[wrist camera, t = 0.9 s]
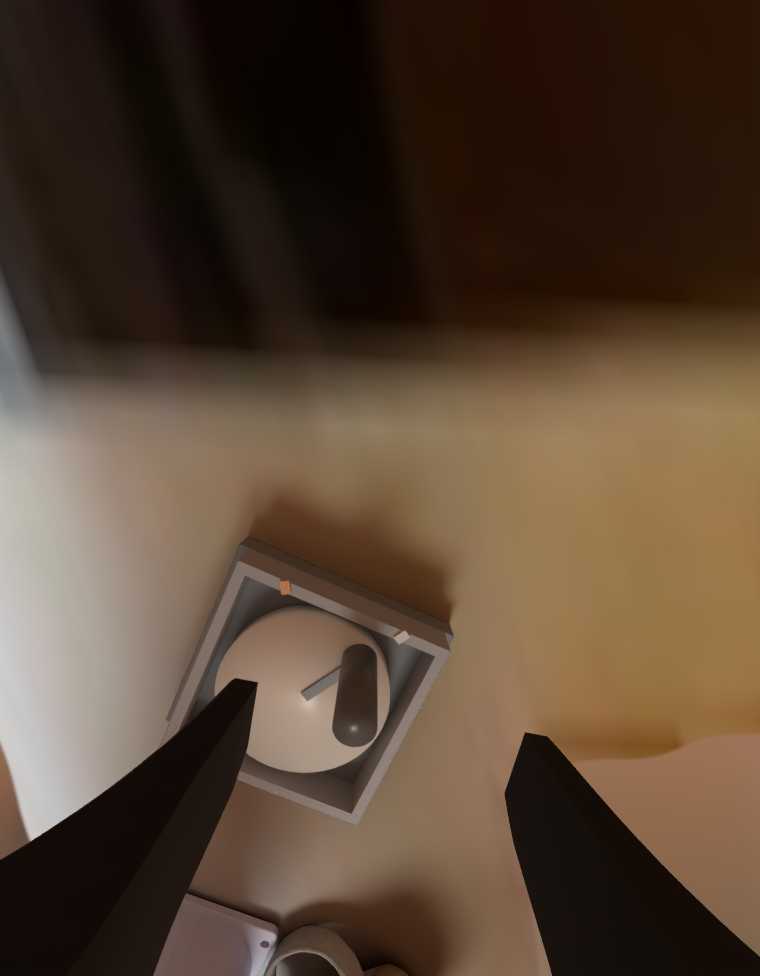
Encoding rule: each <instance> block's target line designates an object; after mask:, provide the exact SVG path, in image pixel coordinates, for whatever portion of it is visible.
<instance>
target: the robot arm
mask: <svg viewBox="0 0 760 976" xmlns="http://www.w3.org/2000/svg"><path fill="white" fill-rule="evenodd" d="M257 686H258V682H254V681H249V680H243V679H238V678H234V679H233V680H231V681H230V682H229V683H228V684H227V685H226V686H225V687H224V688H223V689H222V690H221V691H220V692H219V693H218V694H217V695H216V696H215V697H214V698H213V699H212V700H211V701H210V702H209V703H208V704H207V705H206V706H205V707H204V708H203V709H202V710H201V711H200V712H199V713H198V714H197V715H196V716H195V717H194V718H193V719H192V720H191V721H189V722H188V723H187V724H186V725H185V726H184V727H183V728H182V729H181V730H180V731H178V732H177V733H176V734H175V735H174V736H173V737H172V738H171V739H170V740H168V741H167V742H166V743H165V744H164V745H162V746H161V747H160V748H159V749H158V750H156V751H155V752H154V753H153V754H152V755H150V756H149V757H148V758H147V759H146V760H144V761H143V762H142V763H141V764H140V765H138V766H137V767H136V768H135V769H133V770H132V771H131V772H130V773H128V774H127V775H126V776H124V777H123V778H122V779H120V780H119V781H118V782H117V783H115V784H114V785H113V786H111V787H110V788H109V789H107V790H106V791H104V792H103V793H102V794H100V795H99V796H97V797H96V798H95V799H93V800H92V801H91V802H89V803H88V804H86V805H85V806H83V807H82V808H81V809H79V810H78V811H76V812H75V813H73V814H72V815H70V816H69V817H67V818H66V819H64V820H63V821H61V822H60V823H58V824H57V825H55V826H54V827H52V828H51V829H49V830H48V831H46V832H45V833H43V834H42V835H40V836H38V837H37V838H35V839H34V840H32V841H31V842H29V843H27V844H26V845H24V846H23V847H21V848H19V849H18V850H16V851H14V852H13V853H11V854H10V855H8V856H6V857H4V858H2V859H1V860H0V976H258V974H259V972H260V970H261V968H262V966H263V964H264V962H265V961H266V959H267V957H268V955H269V953H270V951H271V949H272V947H273V945H274V944H275V942H276V940H277V935H278V928H277V927H276V925H274V924H272V923H269V922H266V921H263V920H261V919H258V918H255V917H252V916H249V915H246V914H244V913H241V912H238V911H235V910H232V909H229V908H227V907H224V906H221V905H218V904H215V903H212V902H210V901H207V900H204V899H201V898H198V897H195V896H193V895H190V894H187V893H186V892H187V890H188V888H189V886H190V883H191V881H192V879H193V877H194V875H195V872H196V870H197V868H198V866H199V864H200V862H201V859H202V857H203V855H204V853H205V851H206V848H207V846H208V844H209V842H210V840H211V837H212V835H213V833H214V831H215V829H216V826H217V824H218V822H219V820H220V818H221V815H222V813H223V811H224V809H225V806H226V804H227V802H228V800H229V798H230V795H231V793H232V791H233V788H234V785H235V782H236V779H237V777H238V774H239V771H240V768H241V765H242V762H243V759H244V756H245V753H246V751H247V748H248V742H249V736H250V730H251V724H252V718H253V711H254V705H255V699H256V693H257ZM504 794H505V800H506V806H507V811H508V817H509V823H510V828H511V833H512V838H513V842H514V846H515V850H516V853H517V857H518V860H519V864H520V867H521V870H522V874H523V877H524V881H525V884H526V888H527V891H528V894H529V898H530V901H531V904H532V908H533V911H534V915H535V918H536V921H537V925H538V928H539V931H540V935H541V938H542V942H543V945H544V948H545V952H546V955H547V958H548V962H549V965H550V969H551V973H552V976H760V957H759V956H758V955H757V954H756V953H755V952H754V951H752V950H751V949H750V948H749V947H748V946H747V945H746V944H745V943H743V942H742V941H741V940H740V939H739V938H738V937H737V936H736V935H735V934H734V933H732V932H731V931H730V930H729V929H728V928H727V927H726V926H725V925H724V924H723V923H722V922H720V921H719V920H718V919H717V918H716V917H715V916H714V915H713V914H712V913H711V912H710V911H709V910H708V909H707V908H706V907H705V906H704V905H703V904H702V903H701V902H700V901H698V900H697V899H696V898H695V897H694V896H693V895H692V894H691V893H690V892H689V891H688V890H687V889H686V888H685V887H684V886H683V885H682V884H681V883H680V882H679V881H678V880H677V879H676V878H675V877H674V876H673V875H672V874H671V873H670V872H669V871H668V870H667V869H666V868H665V867H664V866H663V865H662V864H661V863H660V862H659V861H658V860H657V859H656V858H655V857H654V856H653V854H652V853H651V852H650V851H649V850H648V849H647V848H646V847H645V846H644V845H643V844H642V843H641V842H640V841H639V840H638V839H637V838H636V836H635V835H634V834H633V833H632V832H631V831H630V830H629V829H628V828H627V827H626V825H625V824H624V823H623V822H622V821H621V820H620V819H619V818H618V817H617V815H616V814H615V813H614V812H613V811H612V810H611V809H610V808H609V806H608V805H607V804H606V803H605V802H604V801H603V800H602V799H601V797H600V796H599V795H598V794H597V793H596V792H595V790H594V789H593V788H592V787H591V786H590V785H589V784H588V782H587V781H586V780H585V779H584V778H583V777H582V776H581V774H580V773H579V772H578V771H577V770H576V768H575V767H574V766H573V765H572V764H571V763H570V761H569V760H568V759H567V758H566V757H565V756H564V754H563V753H562V752H561V751H560V750H559V749H558V748H557V747H556V745H555V744H554V743H553V742H552V741H551V740H550V739H549V738H548V737H547V736H542V735H536V734H531V733H526V732H525V734H524V737H523V740H522V743H521V746H520V749H519V752H518V755H517V758H516V761H515V764H514V767H513V770H512V773H511V776H510V779H509V782H508V785H507V788H506V790H505V793H504Z"/></svg>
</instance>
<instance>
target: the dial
mask: <svg viewBox="0 0 760 976" xmlns="http://www.w3.org/2000/svg"><path fill="white" fill-rule="evenodd" d="M234 678H238V679H243V680H249V681H254V682H258V686H257V693H256V699H255V705H254V711H253V718H252V724H251V730H250V736H249V742H248V748H247V751H246V753H247V754H248V755H249V756H251V757H252V758H254V759H256V760H257V761H259V762H261V763H263V764H266V765H268V766H270V767H273V768H276V769H279V770H284V771H289V772H299V773H311V772H320V771H325V770H329V769H333V768H336V767H338V766H341V765H344V764H346V763H347V762H349V761H351V760H353V759H355V758H356V757H357V756H359V755H360V754H362V753H363V752H364V751H365V750H366V749H367V748H368V747H369V746H370V745H371V744H372V743H373V742H374V740H375V739H376V738H377V736H378V735H379V733H380V732H381V730H382V728H383V726H384V723H385V721H386V718H387V715H388V711H389V704H390V682H389V672H388V666H387V663H386V660H385V656H384V654H383V652H382V650H381V648H380V646H379V645H378V643H377V642H376V640H375V639H374V638H373V637H372V635H371V634H370V633H369V632H368V631H367V630H366V629H365V628H364V627H363V626H361V625H360V624H358V623H355V622H353V621H351V620H348V619H346V618H344V617H341V616H339V615H337V614H334V613H332V612H329V611H327V610H325V609H322V608H320V607H318V606H311V605H295V606H289V607H283V608H280V609H276V610H273V611H271V612H268V613H266V614H264V615H262V616H260V617H259V618H257V619H255V620H254V621H253V622H251V623H250V624H249V625H248V626H246V627H245V628H244V629H243V630H242V631H241V633H240V634H239V635H238V636H237V638H236V639H235V640H234V642H233V643H232V645H231V646H230V648H229V649H228V651H227V653H226V654H225V656H224V658H223V660H222V662H221V664H220V666H219V669H218V672H217V676H216V681H215V696H216V695H217V694H218V693H219V692H220V691H221V690H222V689H223V688H224V687H225V686H226V685H227V684H228V683H229V682H230V681H231V680H233V679H234Z"/></svg>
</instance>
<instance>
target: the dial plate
mask: <svg viewBox="0 0 760 976" xmlns="http://www.w3.org/2000/svg"><path fill="white" fill-rule="evenodd" d="M295 605H311V606H318V607H320V608H322V609H325V610H327V611H329V612H332V613H334V614H337V615H339V616H341V617H344V618H346V619H348V620H351V621H353V622H355V623H358V624H360V625H361V626H363V627H364V628H365V629H366V630H367V631H368V632H369V633H370V634H371V635H372V637H373V638H374V639H375V640H376V642H377V643H378V645H379V646H380V648H381V650H382V652H383V654H384V656H385V660H386V663H387V666H388V672H389V682H390V704H389V711H388V715H387V718H386V721H385V723H384V726H383V728H382V730H381V732H380V733H379V735H378V736H377V738H376V739H375V740H374V742H373V743H372V744H371V745H370V746H369V747H368V748H367V749H366V750H365V751H364V752H363V753H362V754H360V755H359V756H357V757H356V758H355V759H353V760H351V761H349V762H347V763H346V764H344V765H341V766H338V767H336V768H333V769H329V770H325V771H320V772H311V773H299V772H289V771H284V770H279V769H276V768H273V767H270V766H268V765H266V764H263V763H261V762H259V761H257V760H256V759H254V758H252V757H251V756H249V755H248V754H247V753H245V756H244V759H243V762H242V765H241V768H240V771H239V774H238V777H237V779H236V780H238V781H241V782H244V783H246V784H249V785H252V786H254V787H257V788H259V789H262V790H265V791H267V792H270V793H273V794H275V795H278V796H280V797H283V798H286V799H288V800H291V801H293V802H296V803H299V804H301V805H304V806H307V807H309V808H312V809H314V810H317V811H320V812H322V813H325V814H328V815H330V816H333V817H335V818H338V819H341V820H343V821H346V822H349V823H351V824H354V825H356V826H357V825H358V823H359V821H360V819H361V817H362V815H363V813H364V812H365V810H366V808H367V806H368V804H369V802H370V800H371V799H372V797H373V795H374V793H375V791H376V789H377V787H378V785H379V784H380V782H381V780H382V778H383V776H384V774H385V772H386V771H387V769H388V767H389V765H390V763H391V761H392V759H393V758H394V756H395V754H396V752H397V750H398V748H399V746H400V745H401V743H402V741H403V739H404V737H405V735H406V733H407V732H408V730H409V728H410V726H411V724H412V722H413V720H414V719H415V717H416V715H417V713H418V711H419V709H420V707H421V706H422V704H423V702H424V700H425V698H426V696H427V694H428V693H429V691H430V689H431V687H432V685H433V683H434V681H435V680H436V678H437V676H438V674H439V672H440V670H441V668H442V666H443V665H444V663H445V661H446V659H447V657H448V655H449V653H450V652H451V651H450V648H449V645H450V643H451V641H452V639H453V637H454V635H453V632H452V630H451V627H450V624H449V623H446V622H444V621H442V620H439V619H437V618H435V617H433V616H430V615H428V614H426V613H423V612H421V611H419V610H416V609H414V608H412V607H409V606H407V605H405V604H403V603H400V602H398V601H396V600H393V599H391V598H389V597H386V596H384V595H382V594H379V593H377V592H375V591H373V590H370V589H368V588H366V587H363V586H361V585H359V584H356V583H354V582H352V581H349V580H347V579H345V578H343V577H340V576H338V575H336V574H333V573H331V572H329V571H326V570H324V569H322V568H319V567H317V566H315V565H313V564H310V563H308V562H306V561H303V560H301V559H299V558H296V557H294V556H292V555H290V554H287V553H285V552H283V551H280V550H278V549H276V548H273V547H271V546H269V545H266V544H264V543H262V542H260V541H257V540H255V539H253V538H250V537H247V538H246V539H245V540H244V541H243V542H242V543H241V544H240V545H239V547H238V550H237V552H236V555H235V557H234V559H233V562H232V564H231V566H230V569H229V571H228V574H227V576H226V578H225V581H224V583H223V585H222V588H221V590H220V592H219V595H218V597H217V600H216V602H215V604H214V607H213V609H212V611H211V614H210V616H209V619H208V621H207V623H206V626H205V628H204V630H203V633H202V635H201V637H200V640H199V642H198V645H197V647H196V649H195V652H194V654H193V656H192V659H191V661H190V664H189V666H188V668H187V671H186V673H185V675H184V678H183V680H182V682H181V685H180V687H179V690H178V692H177V694H176V697H175V699H174V701H173V704H172V706H171V709H170V711H169V713H168V716H167V718H166V720H167V721H169V722H170V723H169V725H168V727H167V730H166V732H165V734H164V737H163V739H162V742H161V744H160V746H159V748H160V747H161V746H162V745H164V744H165V743H166V742H167V741H168V740H170V739H171V738H172V737H173V736H174V735H175V734H176V733H177V732H178V731H180V730H181V729H182V728H183V727H184V726H185V725H186V724H187V723H188V722H189V721H191V720H192V719H193V718H194V717H195V716H196V715H197V714H198V713H199V712H200V711H201V710H202V709H203V708H204V707H205V706H206V705H207V704H208V703H209V702H210V701H211V700H212V699H213V698H214V697H215V681H216V676H217V672H218V669H219V666H220V664H221V662H222V660H223V658H224V656H225V654H226V653H227V651H228V649H229V648H230V646H231V645H232V643H233V642H234V640H235V639H236V638H237V636H238V635H239V634H240V633H241V631H242V630H243V629H244V628H245V627H246V626H248V625H249V624H250V623H251V622H253V621H254V620H255V619H257V618H259V617H260V616H262V615H264V614H266V613H268V612H271V611H273V610H276V609H280V608H283V607H289V606H295Z"/></svg>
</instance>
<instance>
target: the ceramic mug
mask: <svg viewBox="0 0 760 976" xmlns="http://www.w3.org/2000/svg"><path fill="white" fill-rule="evenodd" d="M300 952H307V953H314V954H318V955H320V956H322V957H324V958H325V959H326V960H327V961H329V962H330V964H331V965H333V966H334V967H335V969H336V970H337V972H338V973H339V975H340V976H408V975H407V974H406V973H405V972H404V971H403V970H402V969H400V968H398V967H396V966H394V965H391V964H388V965H382V966H379V967H375V968H372V969H369V970H366V971H364V972H363V971H362V969H361V966H360V964H359V962H358V960H357V958H356V956H355V953H354V952H353V951H352V950H351V949H350V948H349V947H348V946H347V944H346V943H345V942H344V941H343V940H342V939H341V937H340V936H339V935H338V934H336V933H335V932H333V931H332V930H329V929H327V928H326V927H321V926H312V925H309V926H304V927H300V928H298V929H296V930H294V931H293V932H291V933H290V934H289V935H287V936H286V937H285V938H284V939H283V940H282V941H281V942H280V944H279V946H278V947H277V949H276V951H275V952H274V954H273V956H272V958H271V960H270V962H269V964H268V966H267V968H266V971H265V973H264V976H276V968H277V965H278V964H279V962H280V961H281V960H283V959H284V958H285V957H287V956H289V955H292V954H295V953H300Z"/></svg>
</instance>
